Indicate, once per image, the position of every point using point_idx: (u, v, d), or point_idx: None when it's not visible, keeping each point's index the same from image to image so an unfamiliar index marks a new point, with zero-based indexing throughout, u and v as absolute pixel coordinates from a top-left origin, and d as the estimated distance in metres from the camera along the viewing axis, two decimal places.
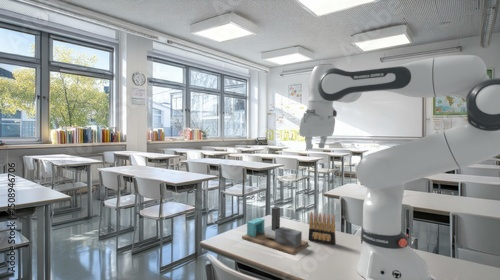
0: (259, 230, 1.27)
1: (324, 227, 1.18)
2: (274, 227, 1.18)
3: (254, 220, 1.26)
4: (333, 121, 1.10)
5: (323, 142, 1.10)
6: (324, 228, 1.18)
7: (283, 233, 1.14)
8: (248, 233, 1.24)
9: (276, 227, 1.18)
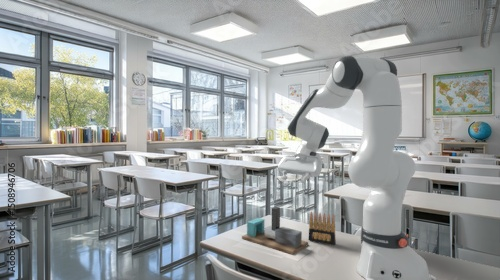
0: (259, 230, 1.27)
1: (324, 227, 1.18)
2: (274, 227, 1.18)
3: (254, 220, 1.26)
4: (315, 160, 1.28)
5: None
6: (324, 228, 1.18)
7: (283, 233, 1.14)
8: (248, 233, 1.24)
9: (276, 227, 1.18)
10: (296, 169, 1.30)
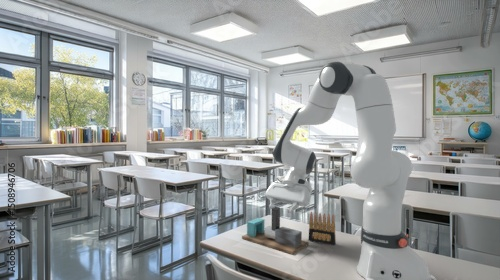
0: (259, 230, 1.27)
1: (324, 227, 1.18)
2: (274, 227, 1.18)
3: (254, 220, 1.26)
4: (304, 189, 1.20)
5: None
6: (324, 228, 1.18)
7: (283, 233, 1.14)
8: (248, 233, 1.24)
9: (276, 227, 1.18)
10: (284, 198, 1.23)
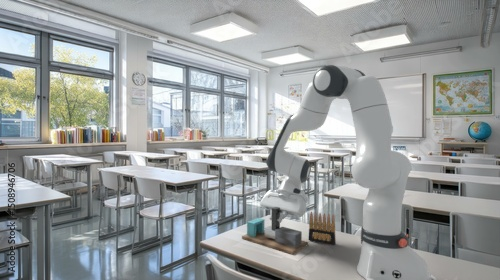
0: (259, 230, 1.27)
1: (324, 227, 1.18)
2: (274, 227, 1.18)
3: (254, 220, 1.26)
4: (299, 199, 1.18)
5: None
6: (324, 228, 1.18)
7: (283, 233, 1.14)
8: (248, 233, 1.24)
9: (276, 227, 1.18)
10: None
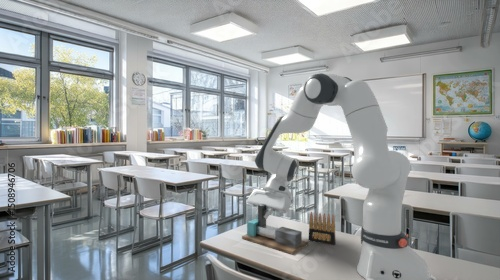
0: None
1: (324, 227, 1.18)
2: (260, 223, 1.22)
3: (254, 220, 1.26)
4: (284, 196, 1.22)
5: None
6: (324, 228, 1.18)
7: (283, 233, 1.14)
8: (248, 233, 1.24)
9: (262, 223, 1.22)
10: None
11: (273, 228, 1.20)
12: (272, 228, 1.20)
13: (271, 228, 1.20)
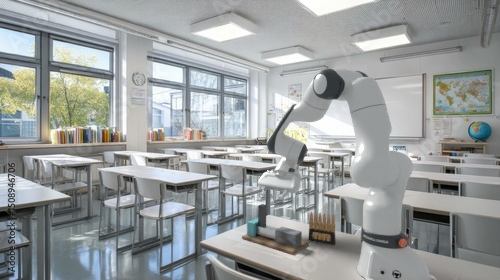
0: None
1: (324, 227, 1.18)
2: (260, 223, 1.22)
3: (254, 220, 1.26)
4: (293, 177, 1.28)
5: None
6: (324, 228, 1.18)
7: (283, 233, 1.14)
8: (248, 233, 1.24)
9: (262, 223, 1.22)
10: (275, 185, 1.30)
11: (273, 228, 1.20)
12: (272, 228, 1.20)
13: (271, 228, 1.20)
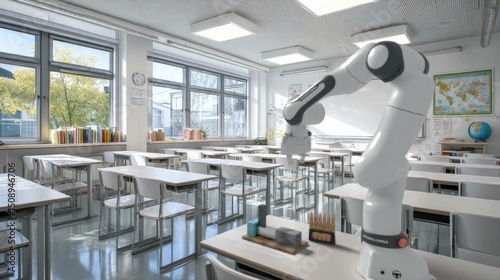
0: None
1: (324, 227, 1.18)
2: (260, 223, 1.22)
3: (254, 220, 1.26)
4: (309, 140, 1.34)
5: (303, 158, 1.33)
6: (324, 228, 1.18)
7: (283, 233, 1.14)
8: (248, 233, 1.24)
9: (262, 223, 1.22)
10: (300, 152, 1.29)
11: (273, 228, 1.20)
12: (272, 228, 1.20)
13: (271, 228, 1.20)
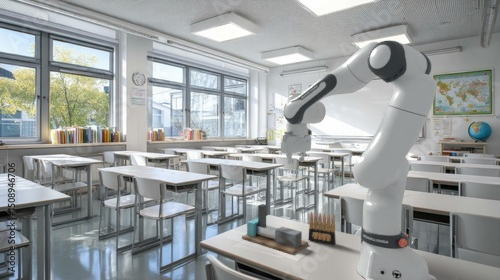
0: None
1: (324, 227, 1.18)
2: (260, 223, 1.22)
3: (254, 220, 1.26)
4: (309, 139, 1.34)
5: (302, 157, 1.33)
6: (324, 228, 1.18)
7: (283, 233, 1.14)
8: (248, 233, 1.24)
9: (262, 223, 1.22)
10: (300, 151, 1.28)
11: (273, 228, 1.20)
12: (272, 228, 1.20)
13: (271, 228, 1.20)
